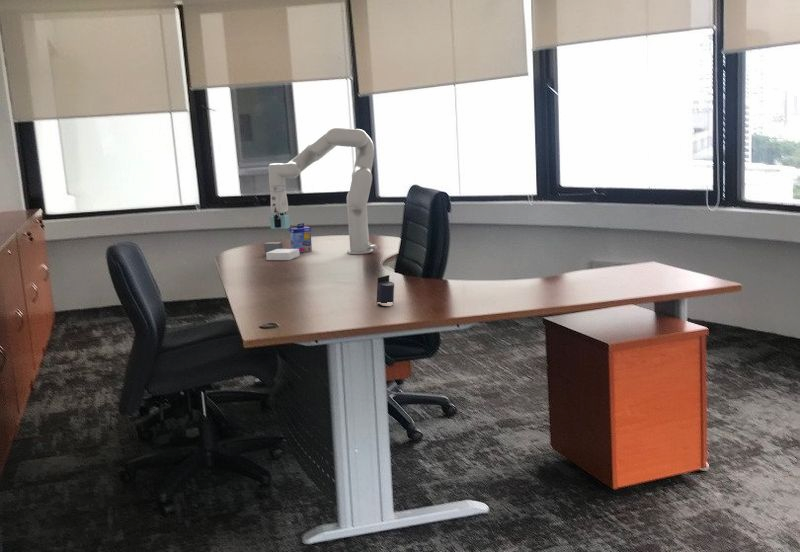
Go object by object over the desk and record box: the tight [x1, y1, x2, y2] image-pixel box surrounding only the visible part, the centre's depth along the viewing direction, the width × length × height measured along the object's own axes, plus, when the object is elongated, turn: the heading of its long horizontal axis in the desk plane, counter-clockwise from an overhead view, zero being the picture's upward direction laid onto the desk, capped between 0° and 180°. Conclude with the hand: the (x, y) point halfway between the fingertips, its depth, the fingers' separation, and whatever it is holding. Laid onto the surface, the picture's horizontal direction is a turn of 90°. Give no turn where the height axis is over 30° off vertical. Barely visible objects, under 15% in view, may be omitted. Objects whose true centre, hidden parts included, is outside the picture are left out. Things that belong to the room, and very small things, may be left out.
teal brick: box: [269, 214, 291, 230], centre depth 441 cm, size 8×4×6 cm, turn 71°
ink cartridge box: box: [289, 222, 313, 253], centre depth 460 cm, size 10×6×14 cm, turn 121°
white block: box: [265, 248, 301, 261], centre depth 444 cm, size 12×12×4 cm
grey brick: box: [263, 241, 284, 256], centre depth 456 cm, size 8×4×6 cm, turn 71°
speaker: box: [376, 274, 395, 303], centre depth 324 cm, size 8×6×10 cm
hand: (280, 226), depth 441 cm, fingers closed on teal brick, 4 cm apart
